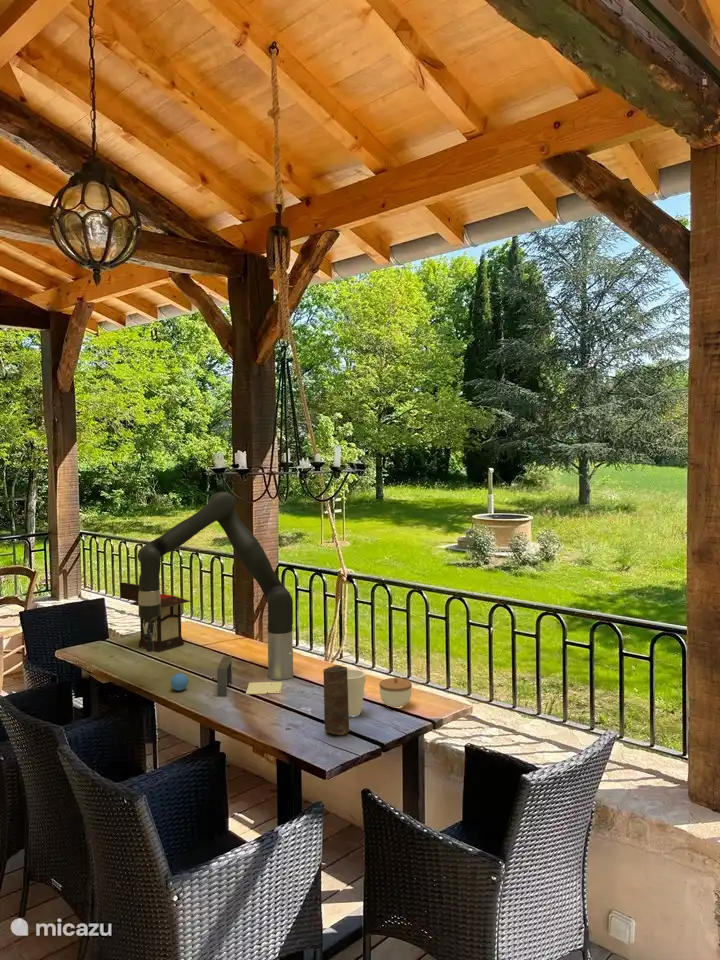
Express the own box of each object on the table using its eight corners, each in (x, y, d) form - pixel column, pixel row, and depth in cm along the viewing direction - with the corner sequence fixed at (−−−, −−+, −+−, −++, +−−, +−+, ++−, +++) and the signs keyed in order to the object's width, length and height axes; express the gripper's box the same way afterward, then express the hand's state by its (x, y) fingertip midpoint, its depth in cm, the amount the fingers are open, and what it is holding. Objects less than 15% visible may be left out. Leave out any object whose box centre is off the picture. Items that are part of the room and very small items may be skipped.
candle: (329, 739, 208) (328, 671, 207) (320, 730, 214) (319, 665, 214) (353, 734, 211) (352, 668, 210) (343, 726, 218) (343, 661, 217)
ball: (189, 687, 255) (189, 670, 255) (186, 692, 249) (186, 676, 249) (172, 687, 255) (172, 671, 254) (169, 693, 249) (168, 676, 248)
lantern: (115, 652, 301) (114, 582, 300) (164, 638, 322) (162, 573, 321) (143, 659, 291) (142, 586, 289) (191, 644, 312) (190, 577, 311)
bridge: (231, 682, 260) (231, 656, 260) (226, 696, 245) (225, 668, 245) (223, 682, 260) (223, 656, 260) (217, 696, 245) (217, 668, 245)
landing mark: (282, 682, 260) (282, 681, 260) (280, 693, 248) (280, 692, 248) (249, 683, 259) (249, 682, 259) (245, 694, 247) (245, 693, 247)
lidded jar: (378, 700, 240) (378, 673, 239) (409, 699, 240) (409, 672, 240) (381, 712, 229) (380, 683, 229) (413, 711, 230) (413, 682, 229)
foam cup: (340, 720, 222) (339, 679, 222) (333, 710, 231) (333, 670, 231) (369, 717, 225) (369, 676, 224) (361, 707, 234) (361, 668, 233)
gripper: (155, 606, 244) (156, 656, 244) (164, 598, 257) (165, 646, 258) (133, 606, 243) (134, 656, 244) (143, 598, 256) (144, 646, 257)
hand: (150, 651), depth 251 cm, fingers closed
